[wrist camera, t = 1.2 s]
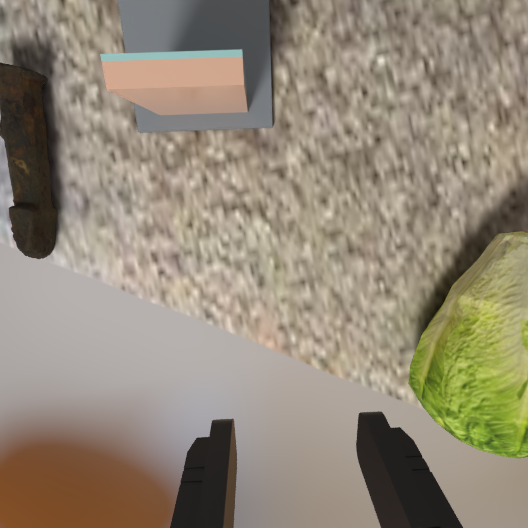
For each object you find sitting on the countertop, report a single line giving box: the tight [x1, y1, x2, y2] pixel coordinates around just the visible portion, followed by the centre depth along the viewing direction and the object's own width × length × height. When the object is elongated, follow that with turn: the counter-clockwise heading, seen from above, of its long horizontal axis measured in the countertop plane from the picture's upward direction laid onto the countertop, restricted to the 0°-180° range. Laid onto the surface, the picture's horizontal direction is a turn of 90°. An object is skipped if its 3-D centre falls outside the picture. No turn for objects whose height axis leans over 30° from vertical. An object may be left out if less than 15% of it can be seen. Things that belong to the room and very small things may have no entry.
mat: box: [118, 0, 272, 133], centre depth 30 cm, size 14×16×1 cm
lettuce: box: [408, 231, 528, 458], centre depth 35 cm, size 17×24×14 cm
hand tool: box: [0, 63, 57, 259], centre depth 31 cm, size 19×4×5 cm, turn 171°
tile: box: [100, 49, 248, 115], centre depth 25 cm, size 9×2×12 cm, turn 92°
